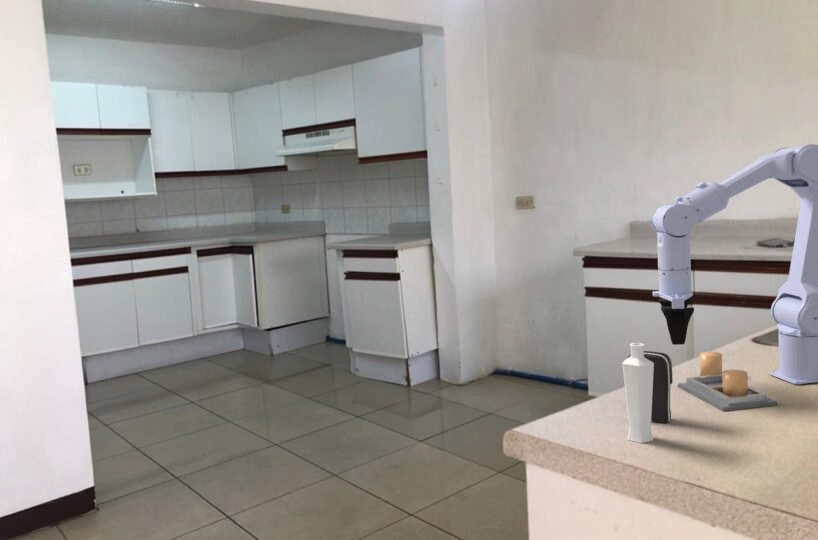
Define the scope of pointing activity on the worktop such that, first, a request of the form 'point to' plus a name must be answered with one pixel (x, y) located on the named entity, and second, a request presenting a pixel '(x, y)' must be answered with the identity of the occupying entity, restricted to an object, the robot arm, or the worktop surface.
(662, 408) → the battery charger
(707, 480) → the worktop surface
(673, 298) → the robot arm
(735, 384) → the frame
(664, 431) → the worktop surface
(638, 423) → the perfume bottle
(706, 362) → the peach rounded capsule
